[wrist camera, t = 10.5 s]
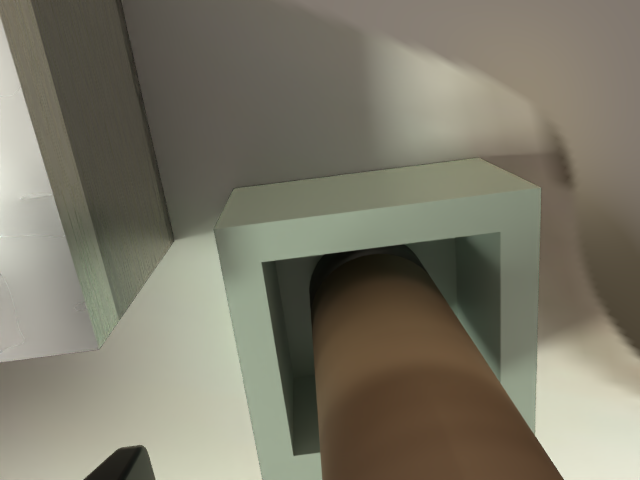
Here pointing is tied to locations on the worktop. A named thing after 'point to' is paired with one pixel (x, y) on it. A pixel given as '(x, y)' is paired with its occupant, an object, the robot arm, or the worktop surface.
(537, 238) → the holder cup
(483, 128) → the worktop surface
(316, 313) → the brown rod
